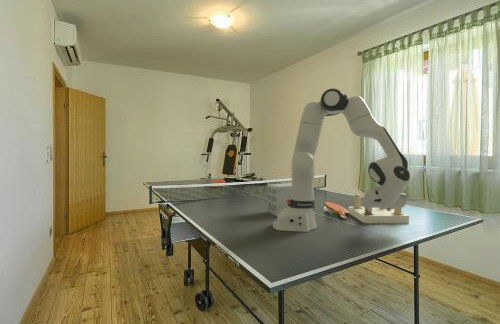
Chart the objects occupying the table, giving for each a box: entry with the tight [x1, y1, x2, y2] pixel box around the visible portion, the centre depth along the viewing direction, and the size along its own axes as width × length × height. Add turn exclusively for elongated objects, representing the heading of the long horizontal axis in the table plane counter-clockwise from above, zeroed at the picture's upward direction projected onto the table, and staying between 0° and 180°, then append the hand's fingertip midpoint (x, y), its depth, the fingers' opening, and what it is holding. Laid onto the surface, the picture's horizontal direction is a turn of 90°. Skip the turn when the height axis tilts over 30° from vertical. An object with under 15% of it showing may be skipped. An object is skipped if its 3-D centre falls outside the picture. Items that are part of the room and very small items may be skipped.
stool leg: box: [365, 208, 372, 215], centre depth 152 cm, size 4×4×11 cm
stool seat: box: [347, 193, 410, 224], centre depth 160 cm, size 24×24×12 cm
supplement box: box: [267, 182, 292, 217], centre depth 172 cm, size 17×13×18 cm
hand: (378, 210), depth 139 cm, fingers open, 8 cm apart
